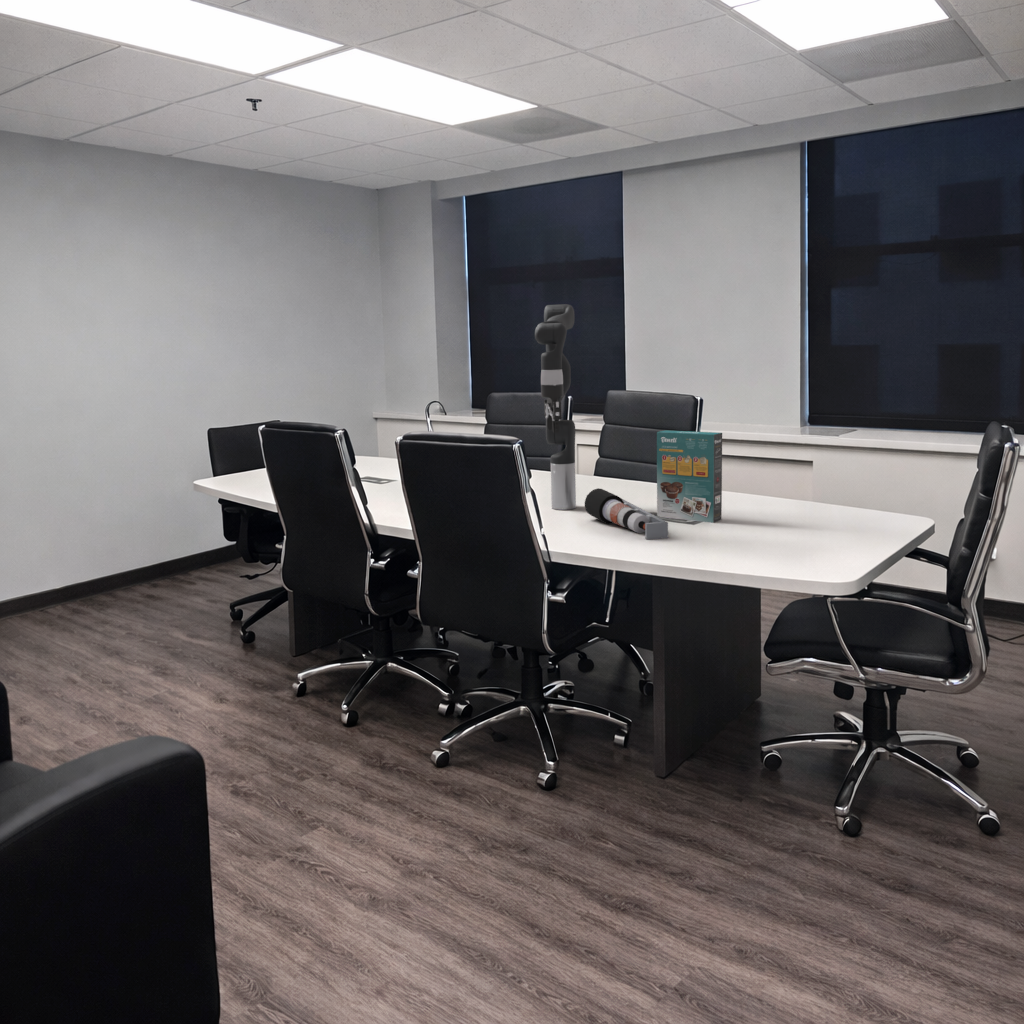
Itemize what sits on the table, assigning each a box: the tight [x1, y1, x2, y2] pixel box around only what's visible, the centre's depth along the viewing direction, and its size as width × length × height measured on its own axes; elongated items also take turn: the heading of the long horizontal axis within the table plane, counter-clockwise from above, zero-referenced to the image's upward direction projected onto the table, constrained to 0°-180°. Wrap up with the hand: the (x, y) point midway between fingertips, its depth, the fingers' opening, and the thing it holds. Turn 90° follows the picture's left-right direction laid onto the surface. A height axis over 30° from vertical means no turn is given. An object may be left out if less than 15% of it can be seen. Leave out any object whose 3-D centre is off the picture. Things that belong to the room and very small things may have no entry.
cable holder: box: [620, 497, 669, 540], centre depth 315 cm, size 50×7×5 cm, turn 11°
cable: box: [584, 488, 649, 534], centre depth 310 cm, size 10×34×10 cm, turn 25°
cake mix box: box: [656, 430, 723, 523], centre depth 319 cm, size 22×6×30 cm, turn 51°
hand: (553, 431), depth 315 cm, fingers open, 8 cm apart
